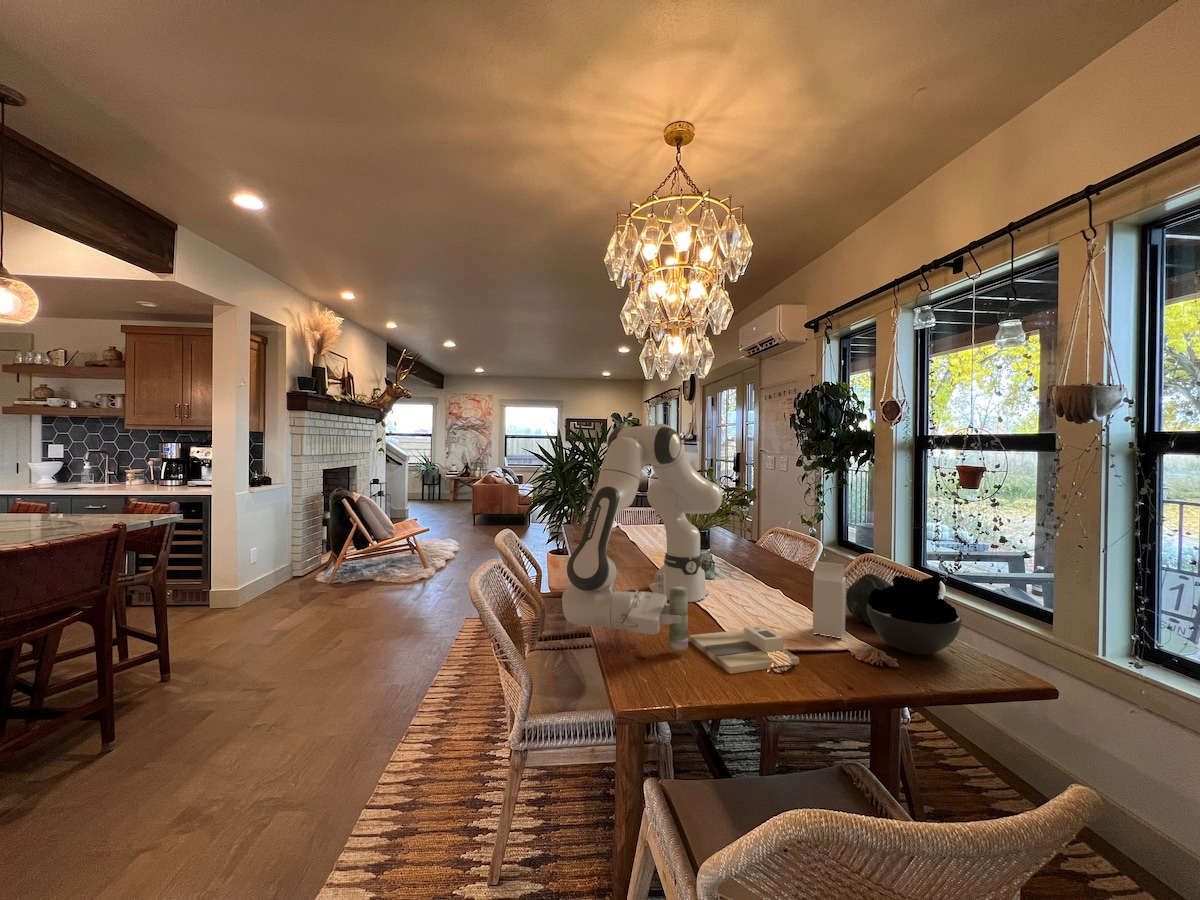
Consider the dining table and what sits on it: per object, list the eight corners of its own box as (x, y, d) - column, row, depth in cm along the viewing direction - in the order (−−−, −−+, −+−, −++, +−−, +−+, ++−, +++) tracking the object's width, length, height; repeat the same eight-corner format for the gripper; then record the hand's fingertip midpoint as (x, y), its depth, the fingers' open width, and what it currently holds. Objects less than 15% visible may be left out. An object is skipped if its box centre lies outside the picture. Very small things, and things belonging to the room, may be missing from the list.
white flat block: (689, 641, 135) (689, 634, 135) (750, 634, 140) (750, 628, 140) (730, 673, 116) (730, 666, 116) (799, 664, 121) (799, 657, 121)
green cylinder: (665, 644, 128) (666, 587, 128) (682, 642, 130) (683, 585, 129) (673, 651, 124) (673, 592, 124) (691, 649, 125) (691, 590, 125)
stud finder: (744, 638, 132) (744, 626, 132) (761, 636, 134) (761, 624, 134) (765, 652, 124) (765, 638, 124) (783, 650, 125) (783, 636, 125)
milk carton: (841, 640, 136) (842, 567, 136) (812, 634, 140) (813, 563, 140) (845, 631, 142) (845, 562, 142) (817, 626, 146) (817, 559, 146)
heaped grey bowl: (873, 661, 123) (874, 581, 123) (861, 632, 142) (861, 563, 142) (974, 673, 116) (975, 589, 116) (946, 642, 135) (947, 569, 135)
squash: (901, 597, 156) (866, 559, 157) (923, 615, 142) (884, 572, 143) (862, 626, 159) (828, 588, 160) (880, 647, 144) (842, 604, 145)
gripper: (617, 611, 119) (678, 616, 116) (632, 586, 139) (685, 590, 136) (617, 638, 120) (678, 644, 116) (632, 610, 139) (685, 614, 136)
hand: (682, 615), depth 126 cm, fingers closed on green cylinder, 4 cm apart
